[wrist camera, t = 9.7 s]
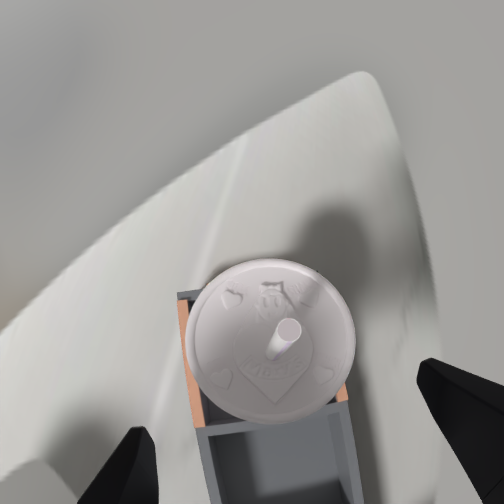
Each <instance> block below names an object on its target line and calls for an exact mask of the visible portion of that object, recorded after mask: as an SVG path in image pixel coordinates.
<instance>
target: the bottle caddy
mask: <svg viewBox="0 0 504 504" xmlns="http://www.w3.org/2000/svg"><path fill="white" fill-rule="evenodd" d="M316 272H318V271H316ZM208 284H209V283H208ZM208 284H206V285H208ZM202 291H203V289H199V290H192V291H185V292H178V293H177V298H178V301H177V307H178V316H179V325H180V334H181V342H182V350H183V358H184V365H185V373H186V380H187V386H188V393H189V399H190V405H191V412H192V417H193V423H194V428H195V429H196V435H197V440H198V445H199V450H200V455H201V460H202V465H203V470H204V475H205V480H206V484H207V489H208V493H209V497H210V502H211V504H364V499H363V492H362V485H361V478H360V472H359V465H358V459H357V453H356V447H355V441H354V435H353V430H352V424H351V419H350V413H349V408H348V403H347V400H348V395H347V390H346V385H345V382H344V384H343V386H342V387H341V389H340V390H339V391H338V393H337V394H336V395H335V396H334V397H333V398H332V399H331V400H330V401H329V402H328V403H327V404H326V405H324V406H323V407H322V408H320V409H319V410H317V411H316V412H314V413H312V414H311V415H309V416H306V417H304V418H302V419H299V420H296V421H292V422H287V423H281V424H260V423H254V422H249V421H246V420H243V419H240V418H237V417H235V416H233V415H231V414H229V413H227V412H225V411H224V410H222V409H221V408H219V407H218V406H217V405H215V404H214V403H213V402H212V401H211V400H210V399H209V398H208V397H207V396H206V395H205V394H204V392H203V391H202V390H201V389H200V387H199V386H198V384H197V382H196V381H195V379H194V377H193V375H192V373H191V370H190V367H189V364H188V360H187V356H186V349H185V332H186V326H187V321H188V318H189V314H190V312H191V309H192V307H193V305H194V303H195V301H196V299H197V298H198V296H199V295H200V293H201V292H202Z"/></svg>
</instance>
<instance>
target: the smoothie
mask: <svg viewBox="0 0 504 504" xmlns="http://www.w3.org/2000/svg"><path fill="white" fill-rule="evenodd" d="M355 346H356V337H355V328H354V323H353V319H352V316H351V313H350V310H349V308H348V306H347V304H346V302H345V301H344V299H343V297H342V296H341V294H340V293H339V292H338V290H337V289H336V288H335V287H334V286H333V285H332V284H331V283H330V282H329V281H328V280H327V279H326V278H325V277H323V276H322V275H321V274H319V273H318V272H316V271H315V270H313V269H311V268H309V267H307V266H305V265H302V264H300V263H297V262H294V261H289V260H285V259H276V258H265V259H256V260H251V261H247V262H243V263H240V264H238V265H235V266H233V267H231V268H229V269H227V270H226V271H224V272H222V273H221V274H219V275H218V276H217V277H216V278H214V279H213V280H212V281H211V282H210V283H209V284H208V285H207V286H206V287H205V288H204V289H203V291H202V292H201V293H200V295H199V296H198V298H197V299H196V301H195V303H194V305H193V307H192V309H191V312H190V314H189V318H188V321H187V326H186V332H185V349H186V356H187V360H188V364H189V367H190V370H191V373H192V375H193V377H194V379H195V381H196V382H197V384H198V386H199V387H200V389H201V390H202V391H203V392H204V394H205V395H206V396H207V397H208V398H209V399H210V400H211V401H212V402H213V403H214V404H215V405H217V406H218V407H219V408H221V409H222V410H224V411H225V412H227V413H229V414H231V415H233V416H235V417H237V418H240V419H243V420H246V421H249V422H254V423H260V424H281V423H287V422H292V421H296V420H299V419H302V418H304V417H306V416H309V415H311V414H312V413H314V412H316V411H317V410H319V409H320V408H322V407H323V406H324V405H326V404H327V403H328V402H329V401H330V400H331V399H332V398H333V397H334V396H335V395H336V394H337V393H338V391H339V390H340V389H341V387H342V386H343V384H344V382H345V381H346V379H347V377H348V375H349V372H350V370H351V367H352V364H353V360H354V355H355Z"/></svg>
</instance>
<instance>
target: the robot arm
mask: <svg viewBox="0 0 504 504" xmlns="http://www.w3.org/2000/svg"><path fill="white" fill-rule="evenodd" d="M417 385H418V387H419V389H420V391H421V393H422V395H423V397H424V399H425V402H426V404H427V406H428V408H429V410H430V412H431V414H432V416H433V418H434V420H435V421H436V423H437V425H438V426H439V428H440V430H441V431H442V433H443V435H444V436H445V438H446V439H447V441H448V443H449V444H450V446H451V448H452V449H453V451H454V453H455V454H456V456H457V458H458V460H459V461H460V463H461V465H462V466H463V468H464V470H465V472H466V473H467V475H468V477H469V479H470V480H471V482H472V484H473V486H474V488H475V489H476V491H477V493H478V495H479V497H480V499H481V500H482V503H483V504H504V386H503V385H500V384H497V383H495V382H492V381H490V380H487V379H484V378H482V377H479V376H477V375H474V374H472V373H469V372H466V371H464V370H461V369H459V368H456V367H454V366H451V365H449V364H446V363H444V362H441V361H439V360H436V359H434V358H428V359H426V360H424V361H422V362H421V363H420V366H419V370H418V374H417ZM77 504H159V486H158V475H157V465H156V453H155V445H154V442H153V440H152V438H151V436H150V435H149V433H148V431H147V430H146V428H145V427H143V426H138V427H132V428H130V430H129V431H128V432H127V434H126V435H125V437H124V438H123V439H122V441H121V442H120V444H119V445H118V446H117V448H116V449H115V450H114V452H113V453H112V455H111V456H110V457H109V459H108V460H107V462H106V463H105V464H104V466H103V467H102V469H101V470H100V471H99V473H98V474H97V476H96V477H95V478H94V480H93V481H92V482H91V484H90V485H89V487H88V488H87V489H86V491H85V492H84V494H83V495H82V496H81V498H80V499H79V500H78V502H77Z"/></svg>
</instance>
